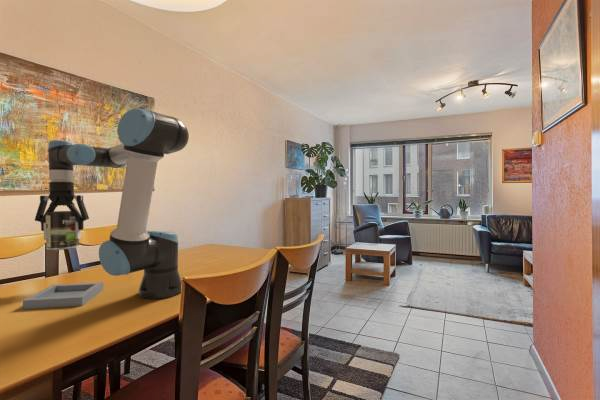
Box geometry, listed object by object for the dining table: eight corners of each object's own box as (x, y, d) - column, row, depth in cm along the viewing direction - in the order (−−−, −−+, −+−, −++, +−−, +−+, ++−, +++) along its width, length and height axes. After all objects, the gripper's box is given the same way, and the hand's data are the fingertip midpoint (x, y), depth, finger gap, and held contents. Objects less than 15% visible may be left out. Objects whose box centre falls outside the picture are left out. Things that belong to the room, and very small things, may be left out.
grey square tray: (103, 289, 120) (103, 282, 120) (82, 305, 104) (82, 297, 104) (53, 292, 117) (52, 284, 117) (22, 309, 100) (22, 300, 100)
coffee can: (85, 246, 125) (85, 210, 125) (61, 250, 115) (60, 212, 115) (64, 245, 127) (64, 210, 127) (38, 249, 117) (37, 212, 117)
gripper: (98, 181, 126) (99, 236, 127) (34, 181, 122) (35, 238, 123) (89, 181, 119) (90, 239, 120) (21, 181, 115) (22, 241, 115)
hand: (63, 238), depth 121 cm, fingers closed on coffee can, 10 cm apart
